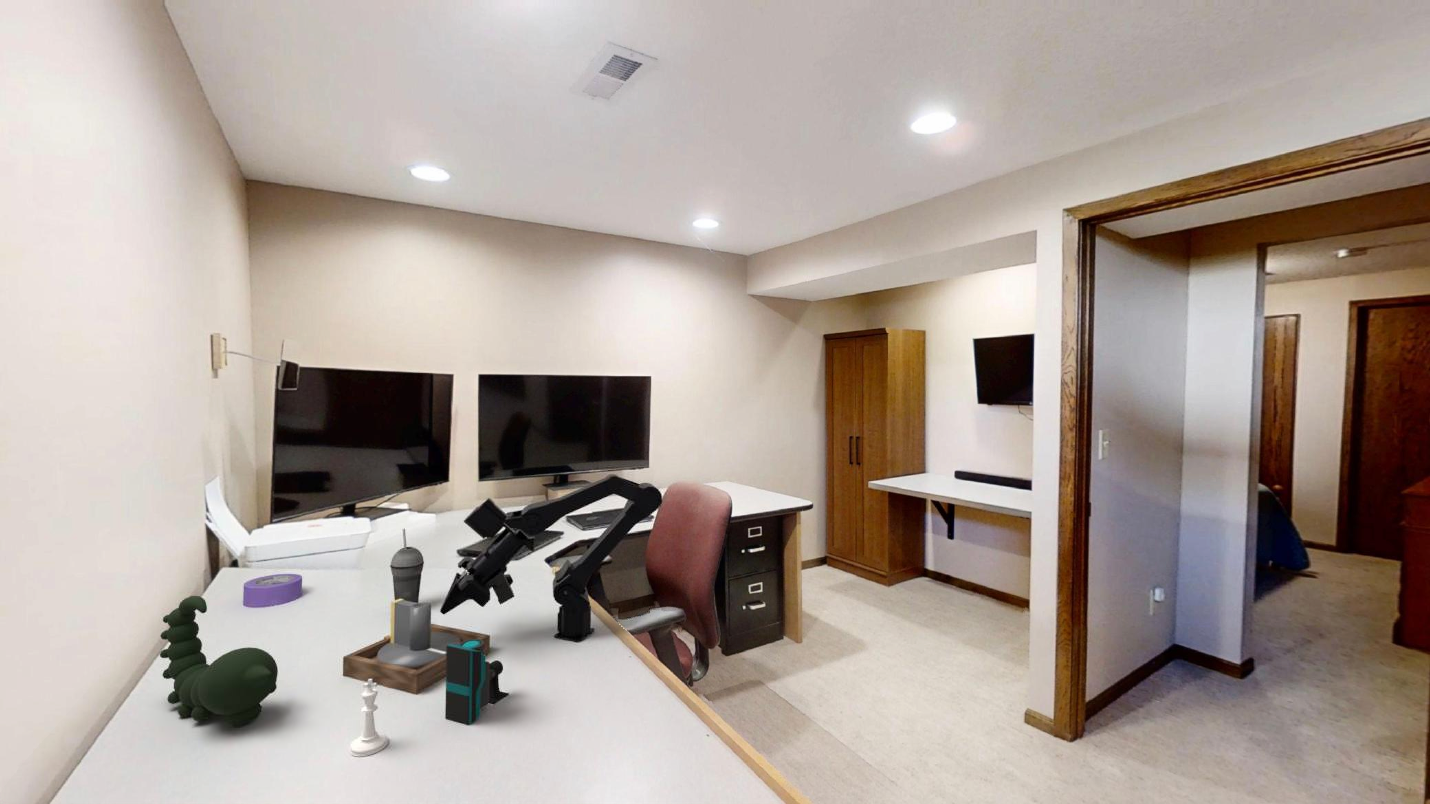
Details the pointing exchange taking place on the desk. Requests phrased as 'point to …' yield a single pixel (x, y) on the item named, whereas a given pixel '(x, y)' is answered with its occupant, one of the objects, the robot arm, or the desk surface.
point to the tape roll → (272, 590)
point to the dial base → (399, 677)
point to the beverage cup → (407, 572)
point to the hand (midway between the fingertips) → (441, 612)
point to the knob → (414, 637)
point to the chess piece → (369, 727)
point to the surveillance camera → (470, 681)
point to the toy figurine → (214, 672)
